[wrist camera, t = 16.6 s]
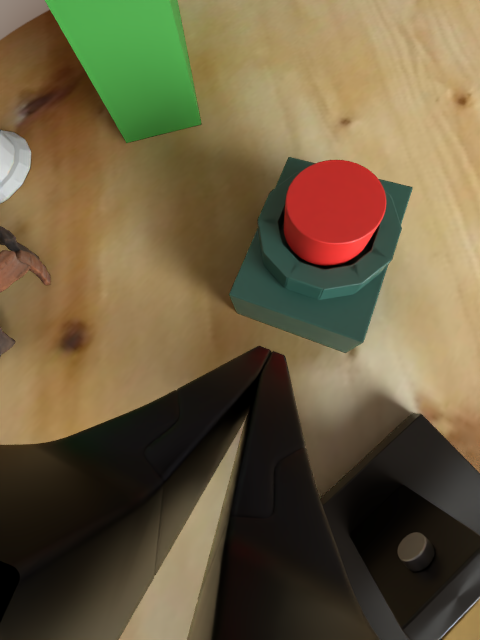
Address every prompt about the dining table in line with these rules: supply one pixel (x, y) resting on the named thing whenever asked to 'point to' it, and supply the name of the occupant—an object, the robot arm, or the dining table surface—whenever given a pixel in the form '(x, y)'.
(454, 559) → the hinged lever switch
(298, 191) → the stop button
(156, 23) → the hardback book
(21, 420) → the dining table surface
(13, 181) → the ball-headed pin
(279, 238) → the green boxy piece
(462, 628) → the tap lever
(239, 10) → the dining table surface
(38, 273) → the pottery mug
